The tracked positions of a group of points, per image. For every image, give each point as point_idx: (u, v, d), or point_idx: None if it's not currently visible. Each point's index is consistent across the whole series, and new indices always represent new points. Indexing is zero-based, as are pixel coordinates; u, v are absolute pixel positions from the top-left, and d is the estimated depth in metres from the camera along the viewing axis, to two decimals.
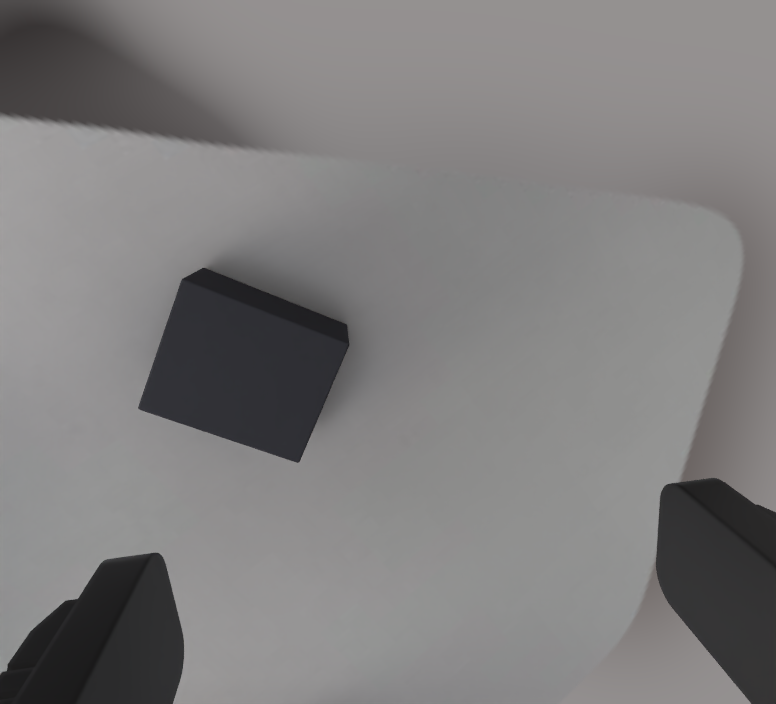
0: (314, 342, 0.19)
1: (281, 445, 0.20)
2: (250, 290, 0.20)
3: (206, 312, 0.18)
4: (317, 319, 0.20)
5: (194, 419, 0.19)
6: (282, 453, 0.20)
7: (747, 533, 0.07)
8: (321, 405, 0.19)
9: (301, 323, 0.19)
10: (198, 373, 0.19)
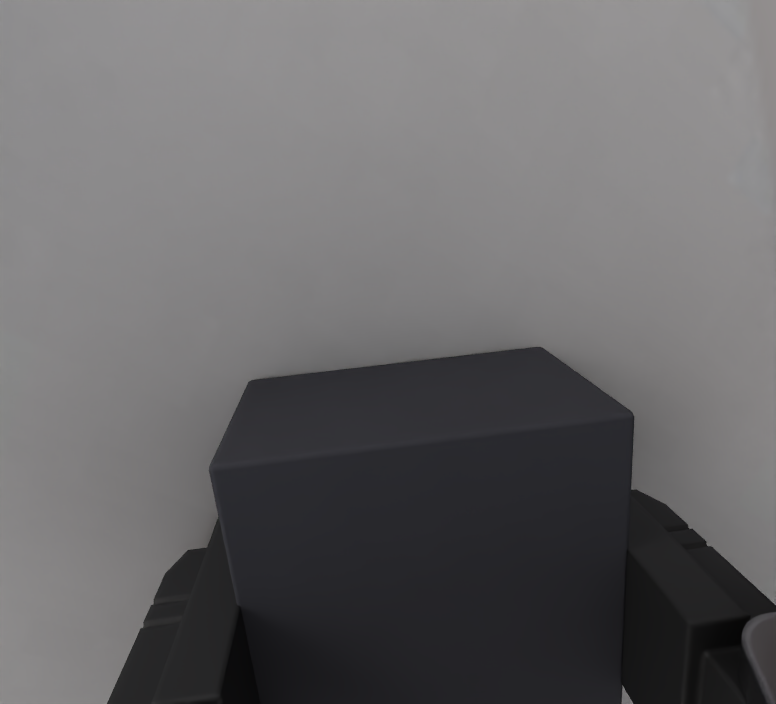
0: None
1: None
2: None
3: (571, 503, 0.07)
4: None
5: (265, 602, 0.07)
6: None
7: None
8: None
9: (619, 678, 0.08)
10: (399, 557, 0.06)
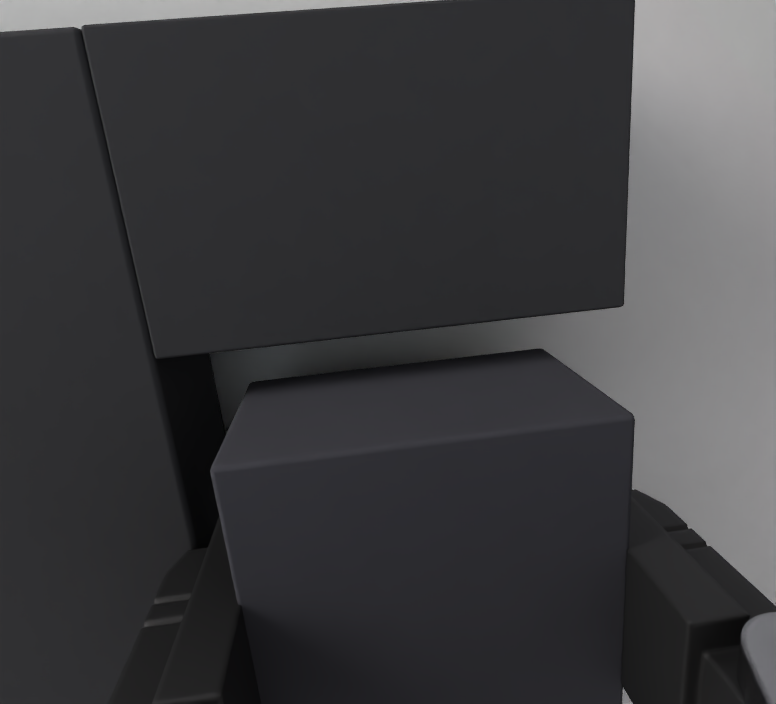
0: None
1: None
2: None
3: (571, 504, 0.07)
4: None
5: (266, 604, 0.07)
6: None
7: None
8: None
9: (619, 679, 0.08)
10: (401, 557, 0.07)
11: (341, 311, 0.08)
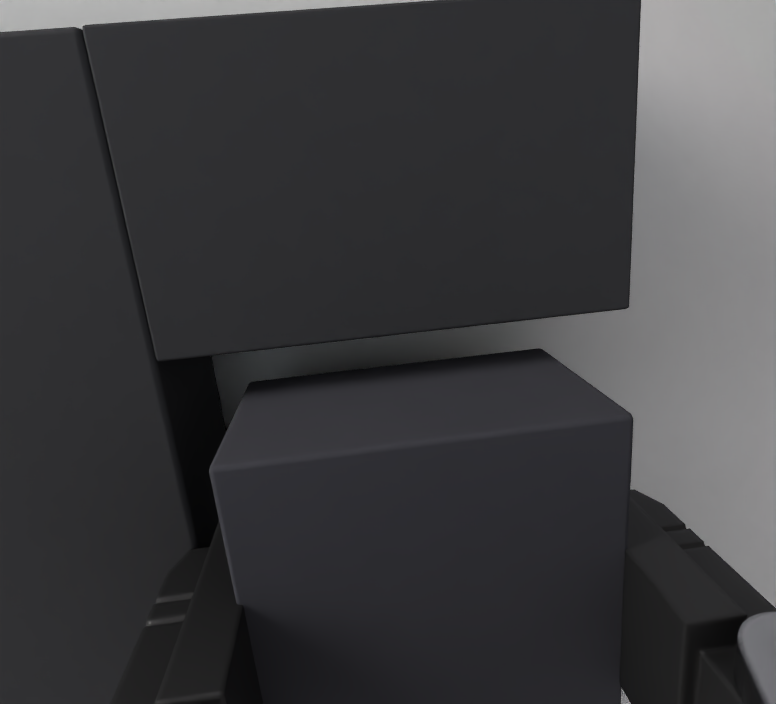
0: None
1: None
2: None
3: (570, 504, 0.07)
4: None
5: (265, 603, 0.07)
6: None
7: None
8: None
9: (618, 680, 0.08)
10: (399, 558, 0.07)
11: (344, 313, 0.08)
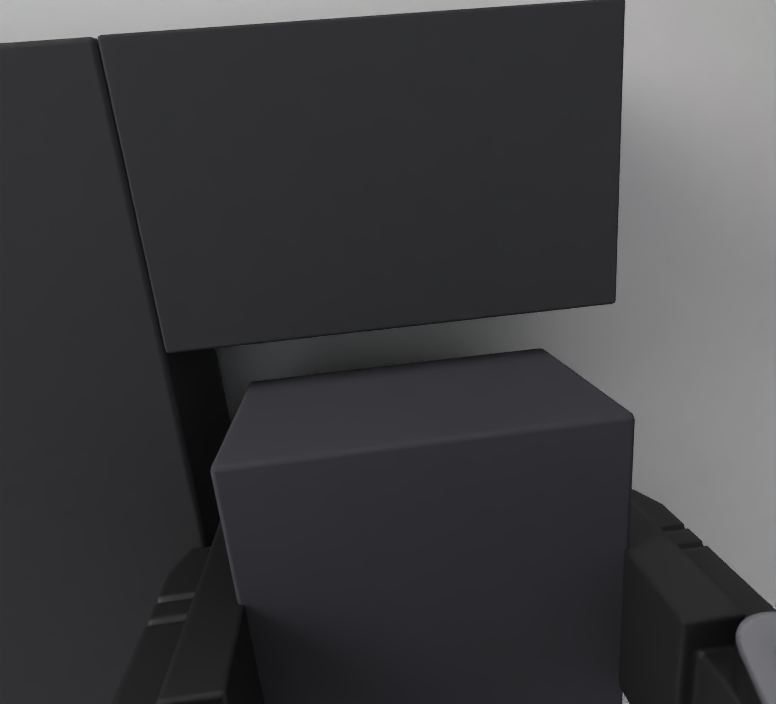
0: None
1: None
2: None
3: (571, 504, 0.07)
4: None
5: (266, 604, 0.07)
6: None
7: None
8: None
9: None
10: (400, 557, 0.07)
11: (344, 307, 0.08)
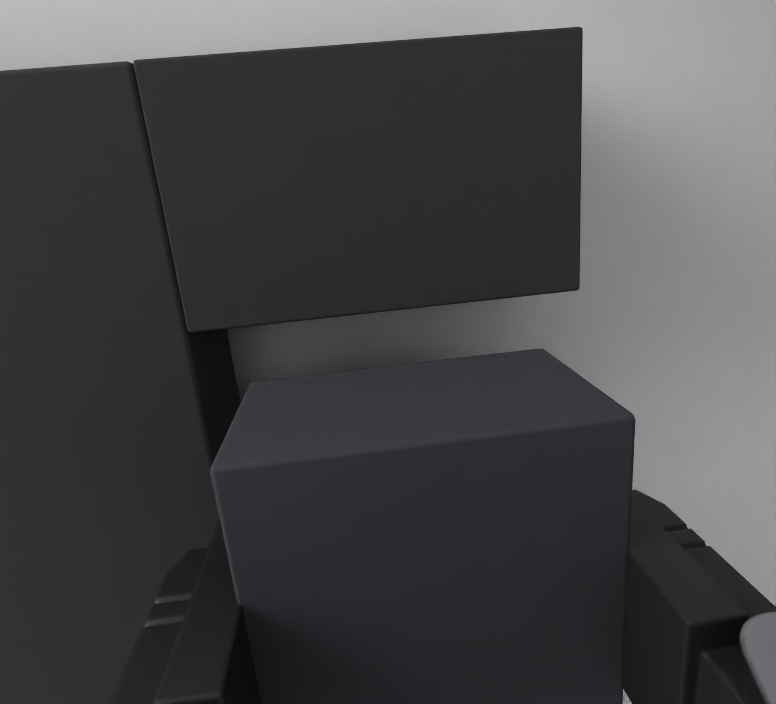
0: None
1: None
2: None
3: (571, 505, 0.07)
4: None
5: (266, 604, 0.07)
6: None
7: None
8: None
9: (620, 682, 0.08)
10: (401, 557, 0.07)
11: (342, 293, 0.09)
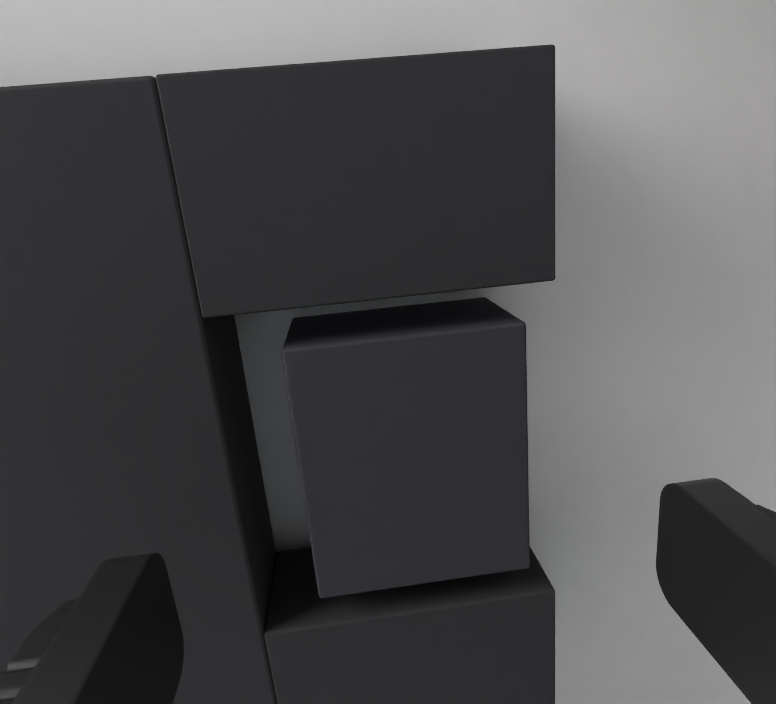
0: (512, 529, 0.12)
1: (335, 566, 0.12)
2: None
3: (490, 377, 0.11)
4: None
5: (311, 436, 0.11)
6: (323, 572, 0.12)
7: (747, 533, 0.07)
8: (425, 582, 0.12)
9: (527, 498, 0.12)
10: (390, 408, 0.11)
11: (341, 282, 0.10)
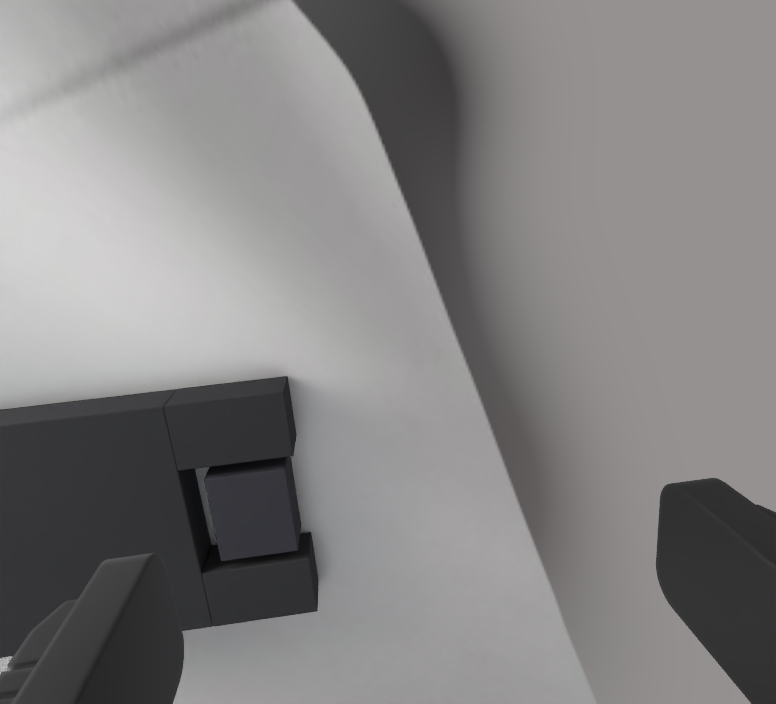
0: (289, 536, 0.34)
1: (226, 549, 0.34)
2: (292, 480, 0.36)
3: (275, 486, 0.33)
4: (297, 517, 0.36)
5: (215, 505, 0.33)
6: (221, 552, 0.34)
7: (747, 533, 0.07)
8: (259, 555, 0.35)
9: (294, 525, 0.34)
10: (241, 496, 0.33)
11: (222, 459, 0.33)
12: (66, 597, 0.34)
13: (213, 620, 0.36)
